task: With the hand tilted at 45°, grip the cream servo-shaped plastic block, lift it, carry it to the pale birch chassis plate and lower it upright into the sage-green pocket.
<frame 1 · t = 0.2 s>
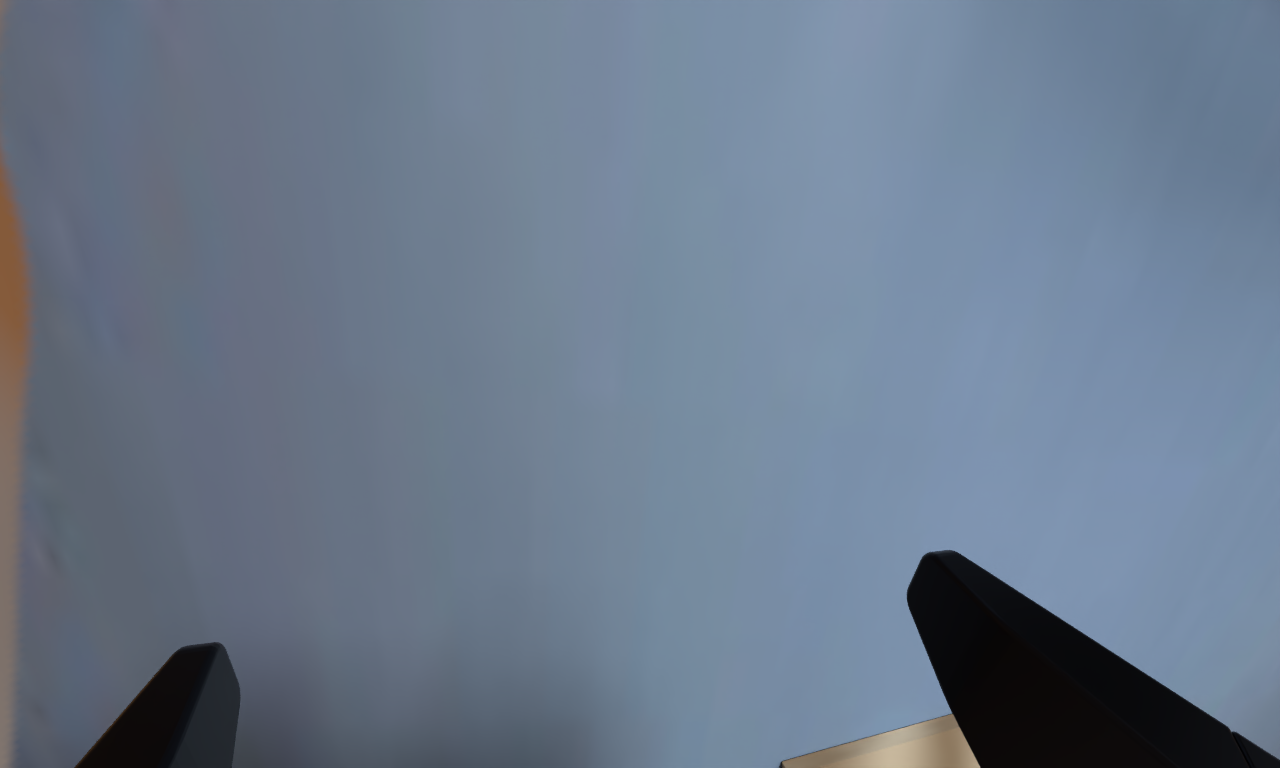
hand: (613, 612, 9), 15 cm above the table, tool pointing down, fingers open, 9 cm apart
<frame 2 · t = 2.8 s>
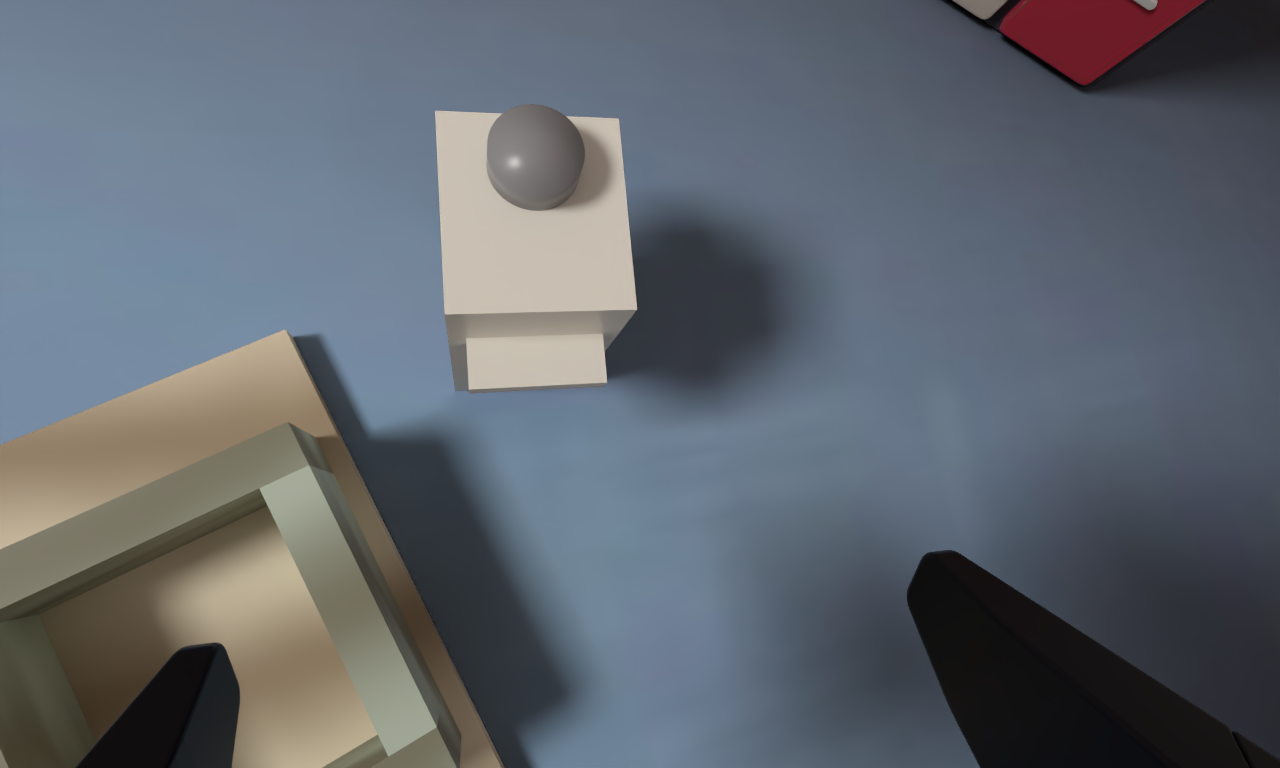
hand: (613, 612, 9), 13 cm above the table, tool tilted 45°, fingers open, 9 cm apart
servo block: (514, 320, 23), on the table
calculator: (992, 6, 31), on the table
chassis plate: (236, 663, 19), on the table
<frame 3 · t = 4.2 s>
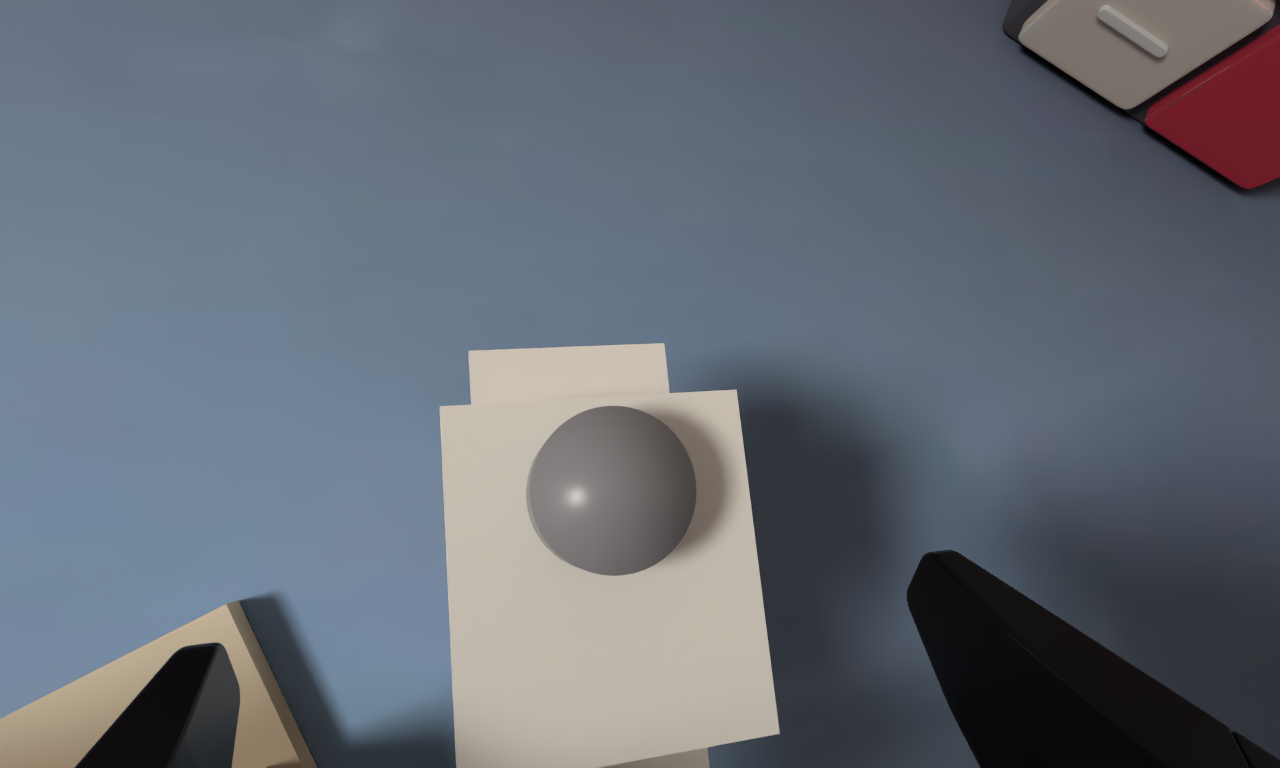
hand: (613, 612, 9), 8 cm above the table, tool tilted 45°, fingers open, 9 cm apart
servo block: (545, 552, 17), on the table
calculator: (1127, 88, 25), on the table
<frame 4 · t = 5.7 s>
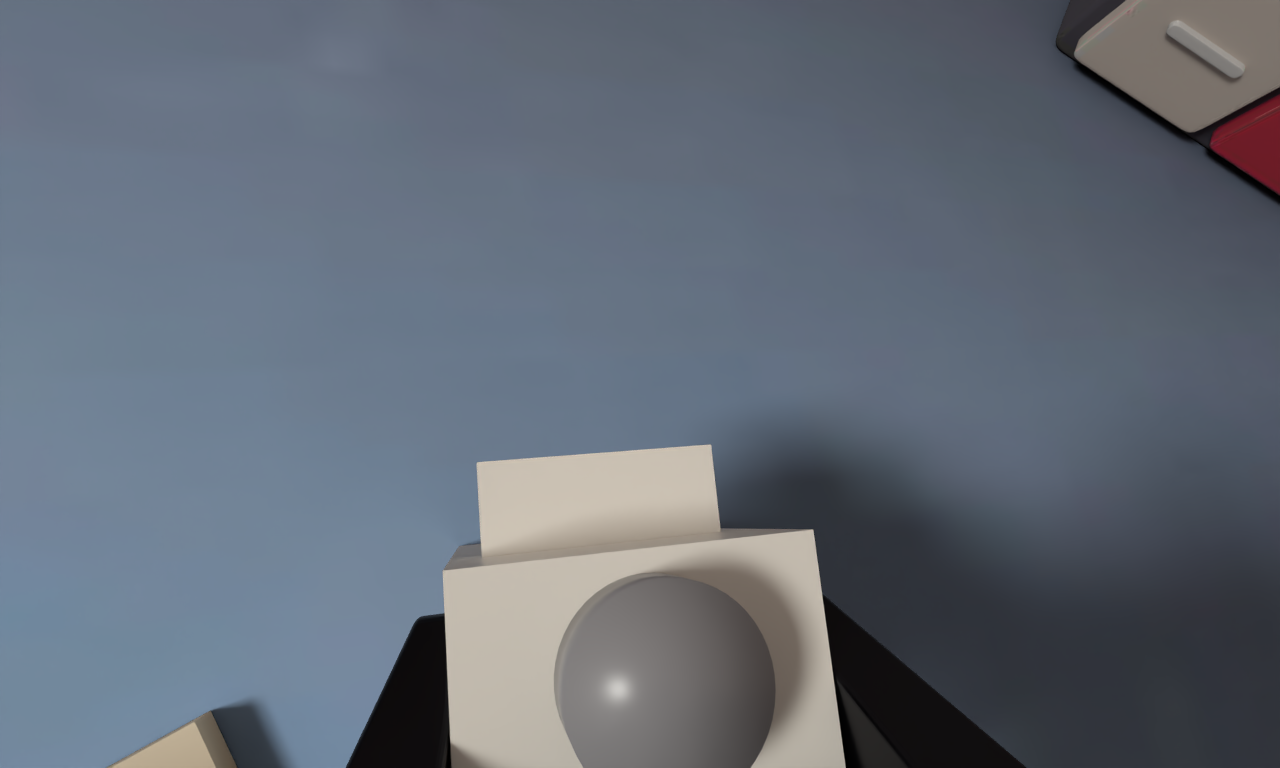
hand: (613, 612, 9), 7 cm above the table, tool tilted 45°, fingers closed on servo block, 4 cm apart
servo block: (560, 642, 15), on the table, touching gripper
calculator: (1188, 107, 23), on the table
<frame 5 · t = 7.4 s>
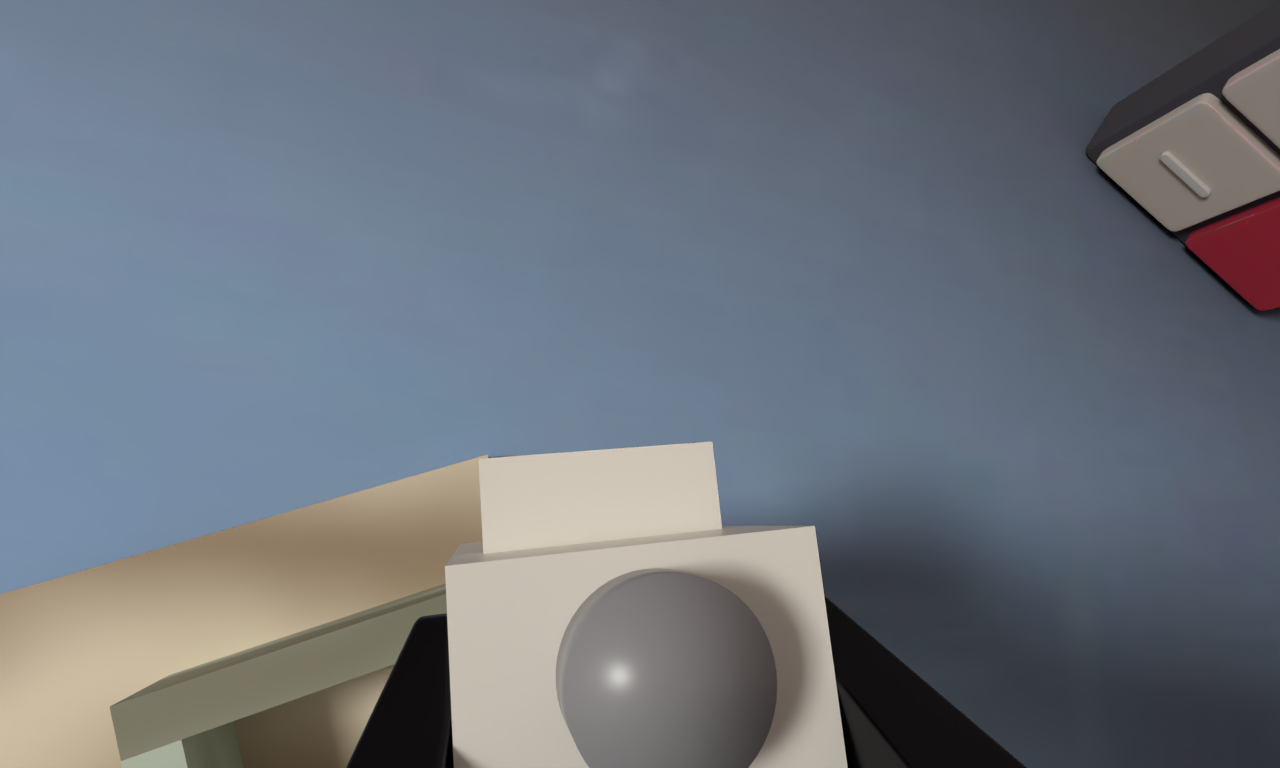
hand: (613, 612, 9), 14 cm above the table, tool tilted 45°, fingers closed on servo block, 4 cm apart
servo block: (560, 640, 15), point 7 cm above the table, touching gripper
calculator: (1177, 214, 31), on the table
when the fingers open (9 cm above the table, at t = 9.4 s): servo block drops 1 cm, resting on chassis plate.
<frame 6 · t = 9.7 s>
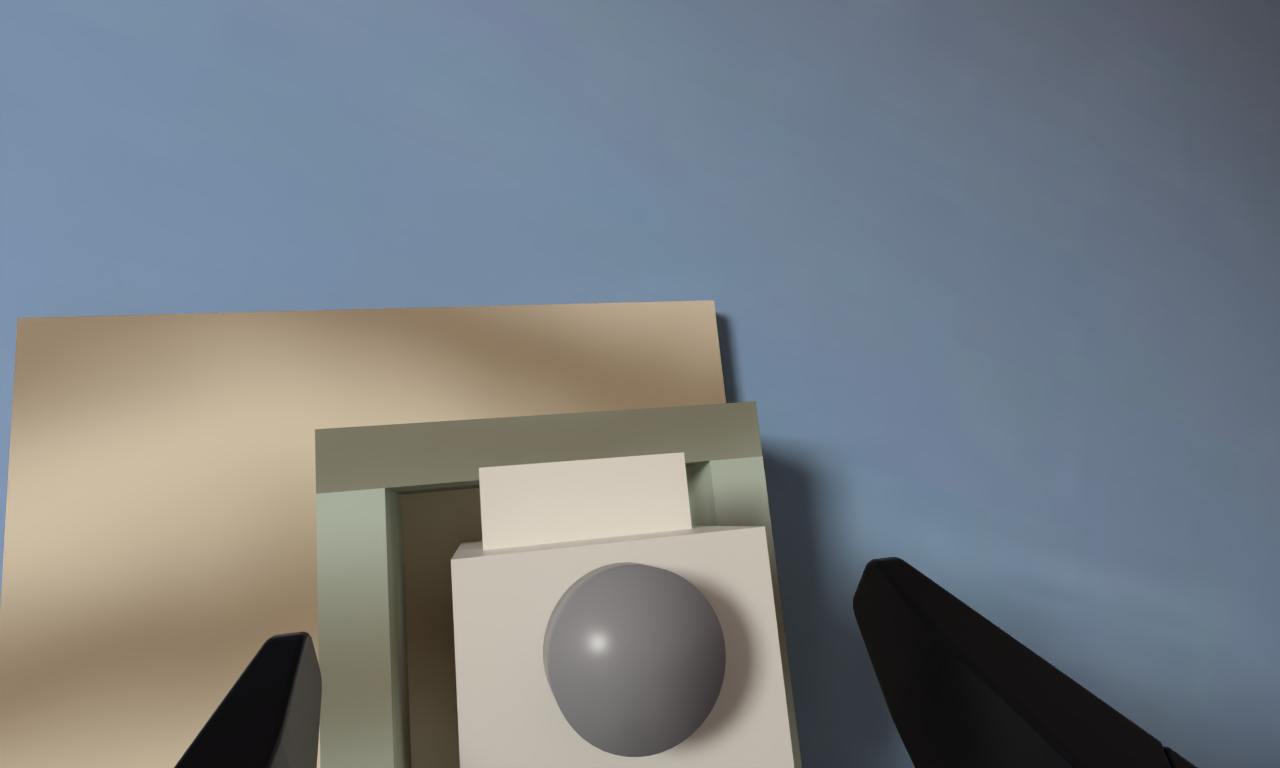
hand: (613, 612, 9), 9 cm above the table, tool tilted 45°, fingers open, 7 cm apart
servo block: (554, 630, 16), point 1 cm above the table, touching chassis plate
chassis plate: (548, 627, 17), on the table
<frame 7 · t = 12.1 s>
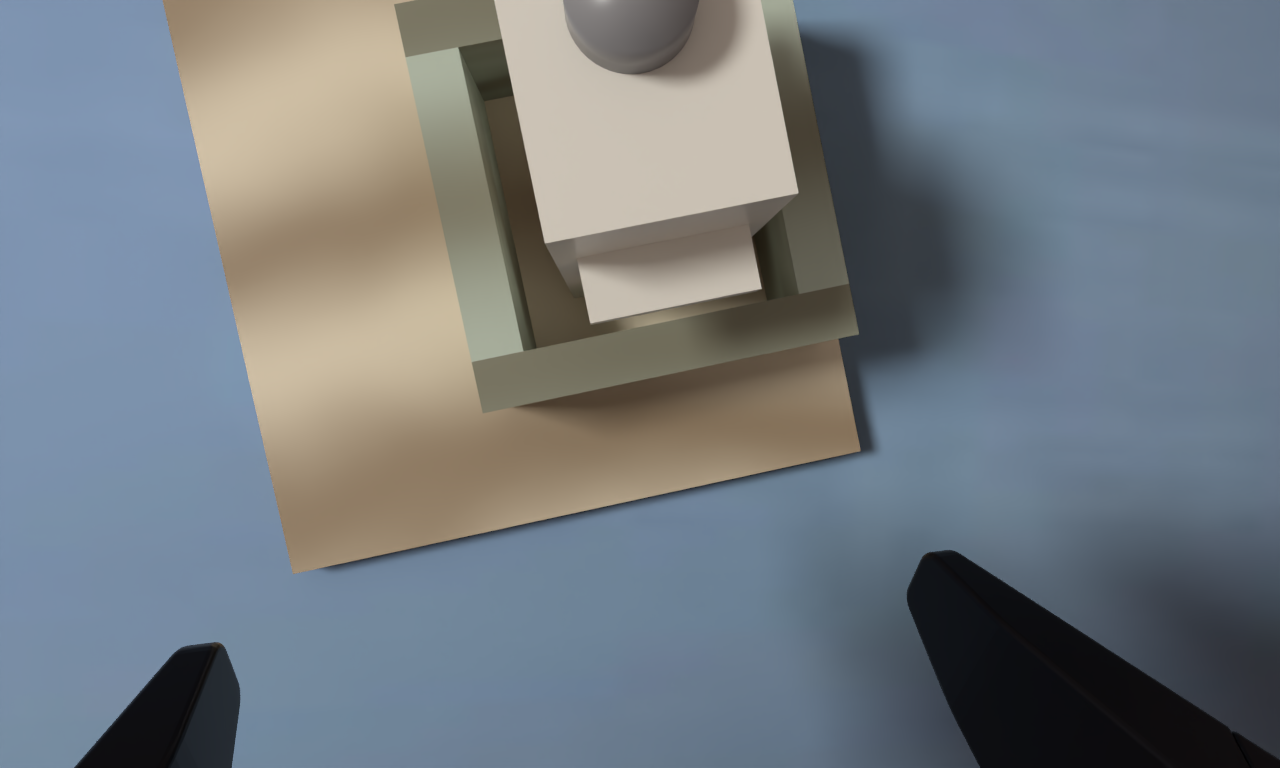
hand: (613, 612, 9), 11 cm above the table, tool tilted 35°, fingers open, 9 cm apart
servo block: (629, 203, 19), point 1 cm above the table, touching chassis plate
chassis plate: (627, 211, 20), on the table
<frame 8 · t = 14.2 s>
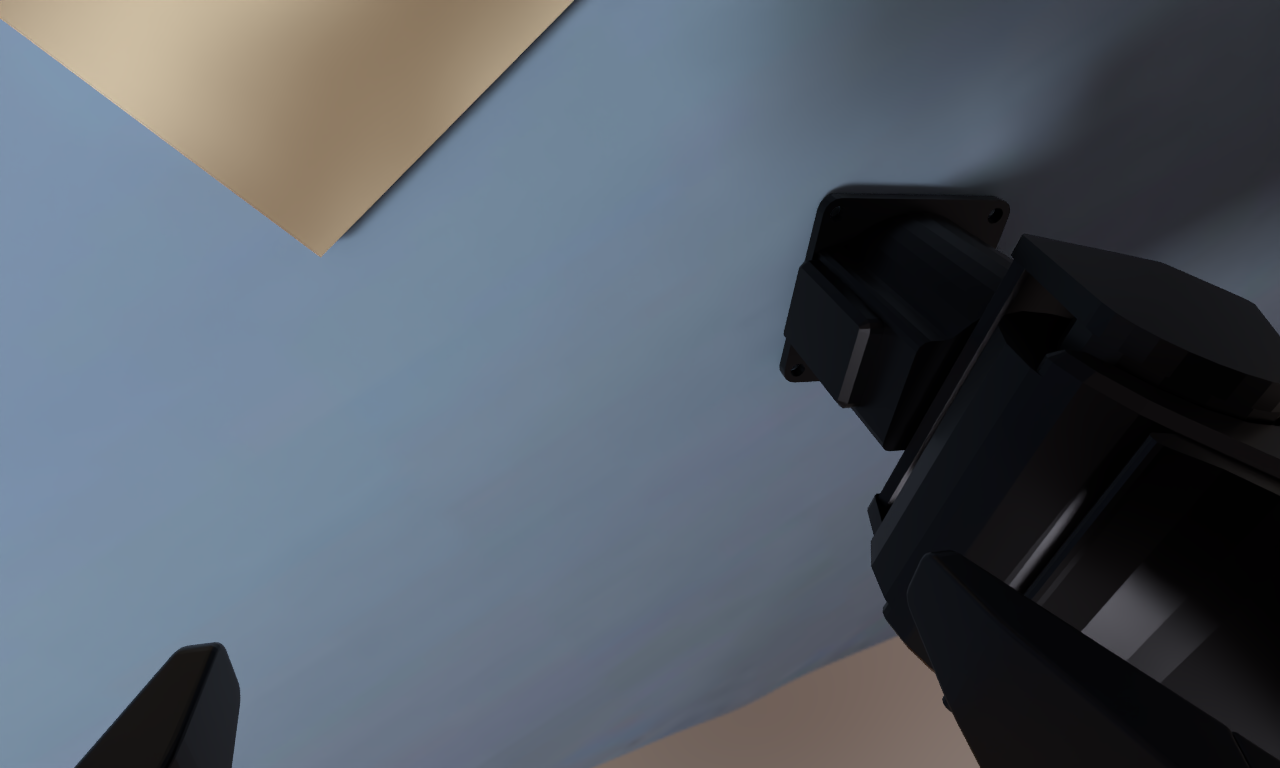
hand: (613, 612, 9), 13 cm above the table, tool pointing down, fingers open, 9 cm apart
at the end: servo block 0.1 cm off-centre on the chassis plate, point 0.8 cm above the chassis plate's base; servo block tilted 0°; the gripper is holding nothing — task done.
